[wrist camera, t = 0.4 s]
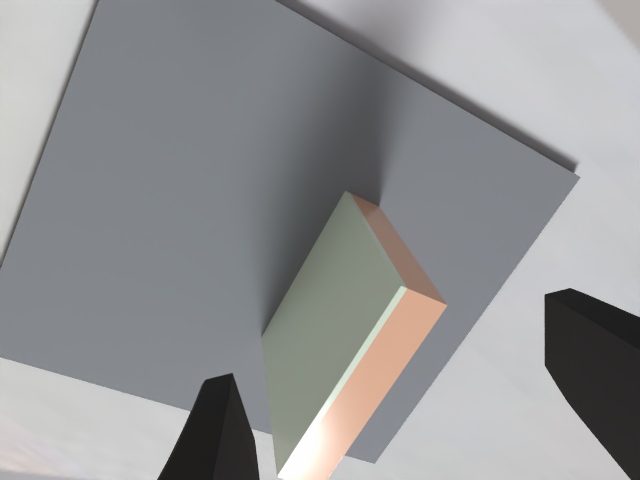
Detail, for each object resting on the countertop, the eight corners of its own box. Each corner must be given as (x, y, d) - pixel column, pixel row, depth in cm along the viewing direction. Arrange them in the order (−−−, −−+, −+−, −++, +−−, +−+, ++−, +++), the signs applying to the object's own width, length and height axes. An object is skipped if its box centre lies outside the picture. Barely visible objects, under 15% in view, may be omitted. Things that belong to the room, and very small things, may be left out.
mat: (574, 173, 22) (580, 177, 22) (372, 457, 27) (374, 463, 27) (131, -83, 16) (130, -84, 16) (-25, 342, 21) (-29, 348, 21)
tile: (379, 206, 21) (447, 305, 15) (293, 348, 23) (321, 488, 17) (345, 190, 20) (400, 285, 14) (261, 337, 22) (277, 476, 16)
